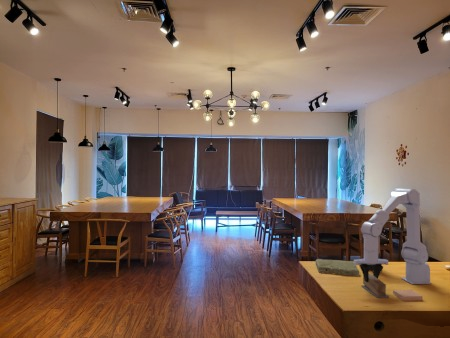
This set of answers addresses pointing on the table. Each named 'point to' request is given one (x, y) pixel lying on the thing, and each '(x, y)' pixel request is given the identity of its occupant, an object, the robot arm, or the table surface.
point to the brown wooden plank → (375, 285)
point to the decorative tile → (337, 267)
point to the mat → (374, 293)
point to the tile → (407, 295)
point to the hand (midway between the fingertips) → (370, 281)
